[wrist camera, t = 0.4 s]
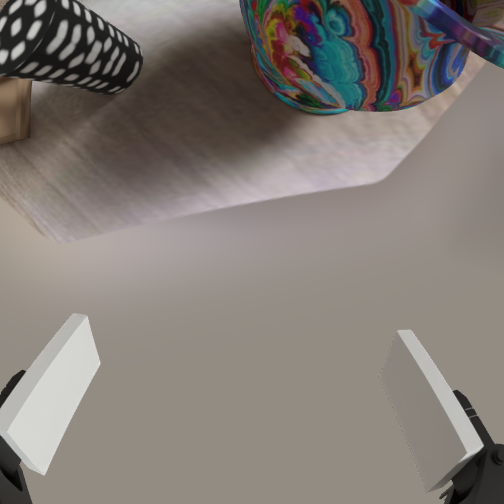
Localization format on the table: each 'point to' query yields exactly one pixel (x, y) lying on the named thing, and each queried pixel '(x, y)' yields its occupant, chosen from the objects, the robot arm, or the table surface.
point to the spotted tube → (66, 46)
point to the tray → (14, 109)
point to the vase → (368, 49)
